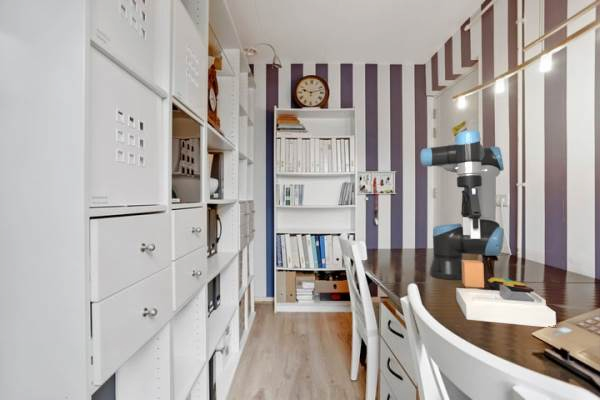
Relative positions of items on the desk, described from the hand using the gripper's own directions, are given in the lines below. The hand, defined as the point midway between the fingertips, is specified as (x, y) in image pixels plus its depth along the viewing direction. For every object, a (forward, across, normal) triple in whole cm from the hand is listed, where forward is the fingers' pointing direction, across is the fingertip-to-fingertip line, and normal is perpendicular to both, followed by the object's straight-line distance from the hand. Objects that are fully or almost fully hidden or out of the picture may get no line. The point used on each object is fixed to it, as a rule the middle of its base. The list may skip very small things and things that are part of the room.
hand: (471, 236), depth 103 cm
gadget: (+21, -5, +12) cm, 25 cm away
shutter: (+16, +15, +8) cm, 24 cm away
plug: (+21, 0, 0) cm, 21 cm away
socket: (+21, +15, +4) cm, 26 cm away
